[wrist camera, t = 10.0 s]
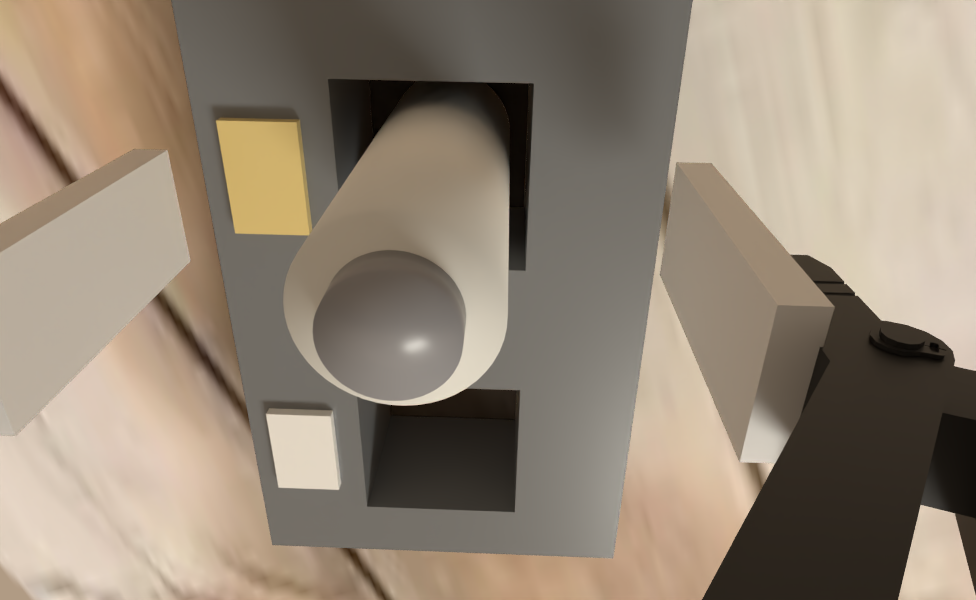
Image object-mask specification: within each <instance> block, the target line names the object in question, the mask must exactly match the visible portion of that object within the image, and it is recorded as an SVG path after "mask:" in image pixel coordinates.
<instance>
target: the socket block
mask: <svg viewBox="0 0 976 600" xmlns="http://www.w3.org/2000/svg"><path fill="white" fill-rule="evenodd" d="M692 1H693V0H171V2H172V7H173V12H174V18H175V23H176V29H177V34H178V39H179V45H180V50H181V55H182V61H183V66H184V72H185V77H186V82H187V88H188V93H189V99H190V104H191V109H192V115H193V120H194V125H195V131H196V136H197V142H198V147H199V152H200V158H201V163H202V169H203V174H204V179H205V185H206V190H207V195H208V201H209V206H210V212H211V217H212V222H213V228H214V233H215V239H216V244H217V249H218V255H219V260H220V265H221V271H222V276H223V282H224V287H225V292H226V298H227V303H228V309H229V314H230V319H231V325H232V330H233V336H234V341H235V346H236V352H237V357H238V362H239V368H240V373H241V379H242V384H243V389H244V395H245V400H246V406H247V411H248V416H249V422H250V427H251V432H252V438H253V443H254V449H255V454H256V459H257V465H258V470H259V476H260V481H261V486H262V492H263V497H264V502H265V508H266V513H267V519H268V524H269V529H270V535H271V540H272V545H286V546H311V547H337V548H363V549H388V550H414V551H439V552H465V553H490V554H516V555H542V556H567V557H593V558H613V557H614V550H615V543H616V536H617V529H618V522H619V515H620V508H621V501H622V493H623V486H624V479H625V472H626V465H627V458H628V451H629V444H630V437H631V430H632V423H633V416H634V409H635V402H636V395H637V388H638V381H639V374H640V367H641V360H642V353H643V346H644V339H645V332H646V325H647V318H648V310H649V303H650V296H651V289H652V282H653V275H654V268H655V261H656V254H657V247H658V240H659V233H660V226H661V219H662V212H663V205H664V198H665V191H666V184H667V177H668V170H669V163H670V156H671V149H672V142H673V135H674V128H675V120H676V113H677V106H678V99H679V92H680V85H681V78H682V71H683V64H684V57H685V50H686V43H687V36H688V29H689V22H690V15H691V8H692ZM369 80H404V81H450V82H495V83H529V95H528V119H527V143H526V167H525V192H524V207H509V261H508V319H507V329H506V334H505V338H504V342H503V344H502V347H501V349H500V352H499V353H498V355H497V357H496V359H495V360H494V362H493V363H492V365H491V366H490V367H489V369H488V370H487V371H486V372H485V373H484V374H483V375H482V376H481V377H480V378H479V379H478V380H477V381H476V382H474V383H473V384H472V385H470V386H469V387H468V388H467V389H497V390H516V409H515V420H507V419H478V418H449V417H420V416H391V410H390V405H388V404H382V403H376V402H373V401H369V400H365V399H362V398H360V397H357V396H354V395H352V394H350V393H348V392H346V391H344V390H342V389H340V388H338V387H337V386H335V385H334V384H332V383H331V382H329V381H327V380H326V379H325V378H324V377H323V376H321V375H320V374H319V373H318V372H317V371H316V370H315V369H314V368H313V367H312V366H311V365H310V364H309V363H308V362H307V361H306V359H305V358H304V357H303V355H302V354H301V353H300V351H299V350H298V348H297V346H296V345H295V343H294V341H293V339H292V337H291V334H290V332H289V329H288V327H287V323H286V319H285V315H284V306H283V293H284V285H285V280H286V276H287V273H288V270H289V268H290V265H291V263H292V261H293V259H294V258H295V256H296V254H297V252H298V251H299V249H300V248H301V246H302V245H303V243H304V242H305V240H306V239H307V237H308V236H309V234H310V233H311V231H312V230H313V228H314V227H315V225H316V224H317V222H318V221H319V220H320V218H321V217H322V215H323V214H324V212H325V211H326V209H327V208H328V206H329V205H330V203H331V202H332V200H333V199H334V197H335V196H336V194H337V193H338V191H339V190H340V188H341V187H342V185H343V184H344V182H345V181H346V179H347V178H348V176H349V175H350V173H351V172H352V170H353V169H354V167H355V166H356V164H357V163H358V161H359V160H360V158H361V157H362V155H363V154H364V153H365V151H366V150H367V148H368V147H369V145H370V144H371V142H372V141H373V130H372V115H371V99H370V84H369Z"/></svg>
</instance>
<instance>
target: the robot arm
mask: <svg viewBox="0 0 976 600" xmlns="http://www.w3.org/2000/svg"><path fill="white" fill-rule="evenodd" d="M190 261H191V260H190V256H189V251H188V246H187V241H186V236H185V232H184V227H183V222H182V217H181V212H180V207H179V203H178V198H177V193H176V188H175V183H174V179H173V174H172V169H171V164H170V159H169V154H168V150H153V149H133V150H131V151H130V152H128V153H126V154H124V155H122V156H121V157H119V158H117V159H115V160H113V161H112V162H110V163H108V164H106V165H105V166H103V167H101V168H99V169H97V170H96V171H94V172H92V173H90V174H88V175H87V176H85V177H83V178H81V179H79V180H78V181H76V182H74V183H72V184H70V185H69V186H67V187H65V188H63V189H62V190H60V191H58V192H56V193H54V194H53V195H51V196H49V197H47V198H45V199H44V200H42V201H40V202H38V203H36V204H35V205H33V206H31V207H29V208H27V209H26V210H24V211H22V212H20V213H19V214H17V215H15V216H13V217H11V218H10V219H8V220H6V221H4V222H2V223H1V224H0V436H16V435H17V434H18V433H19V432H20V431H21V430H22V429H23V428H24V427H25V426H26V425H27V424H28V423H29V422H30V421H31V420H32V419H33V418H34V417H35V416H36V415H37V414H38V413H39V412H40V411H41V410H42V409H43V408H44V407H45V406H46V405H47V404H48V403H49V402H50V401H51V400H52V399H53V398H54V397H55V396H56V395H57V394H58V393H59V392H60V391H61V390H62V389H63V388H64V387H65V386H66V385H67V384H68V383H69V382H70V381H71V380H72V379H73V378H74V377H75V376H76V375H77V374H78V373H79V372H80V371H81V370H82V369H83V368H84V367H85V366H86V365H87V364H88V363H89V362H90V361H91V360H92V359H93V358H94V357H95V356H96V355H97V354H98V353H99V352H100V351H101V350H102V349H103V348H104V347H105V346H106V345H107V344H108V343H109V342H110V341H111V340H112V339H113V338H114V337H115V336H116V335H117V334H118V333H119V332H120V331H121V330H122V329H123V328H124V327H125V326H126V325H127V324H128V323H129V322H130V321H131V320H132V319H133V318H134V317H135V316H136V315H137V314H138V313H139V312H140V311H141V310H142V309H143V308H144V307H145V306H146V305H147V304H148V303H149V302H150V301H151V300H152V299H153V298H154V297H155V296H156V295H157V294H158V293H159V292H160V291H161V290H162V289H163V288H164V287H165V286H166V285H167V284H168V283H169V282H170V281H171V280H172V279H173V278H174V277H175V276H176V275H177V274H178V273H179V272H180V271H181V270H182V269H183V268H184V267H185V266H186V265H187V264H188V263H189V262H190ZM660 276H661V278H662V280H663V283H664V285H665V288H666V290H667V292H668V295H669V297H670V299H671V302H672V304H673V306H674V309H675V311H676V313H677V316H678V318H679V320H680V323H681V325H682V328H683V330H684V332H685V335H686V337H687V339H688V342H689V344H690V346H691V349H692V351H693V353H694V356H695V358H696V361H697V363H698V365H699V368H700V370H701V372H702V375H703V377H704V379H705V382H706V384H707V386H708V389H709V391H710V393H711V396H712V398H713V401H714V403H715V405H716V408H717V410H718V412H719V415H720V417H721V419H722V422H723V424H724V426H725V429H726V431H727V433H728V436H729V438H730V441H731V443H732V445H733V448H734V450H735V452H736V455H737V457H738V459H739V462H752V463H775V465H774V467H773V469H772V470H771V472H770V474H769V476H768V478H767V480H766V482H765V484H764V485H763V487H762V489H761V491H760V493H759V495H758V497H757V498H756V500H755V502H754V504H753V506H752V508H751V510H750V511H749V513H748V515H747V517H746V519H745V521H744V523H743V524H742V526H741V528H740V530H739V532H738V534H737V536H736V537H735V539H734V541H733V543H732V545H731V547H730V549H729V551H728V552H727V554H726V556H725V558H724V560H723V562H722V564H721V565H720V567H719V569H718V571H717V573H716V575H715V577H714V578H713V580H712V582H711V584H710V586H709V588H708V590H707V591H706V593H705V595H704V597H703V599H702V600H898V597H899V593H900V589H901V584H902V580H903V576H904V572H905V568H906V563H907V559H908V555H909V551H910V547H911V542H912V538H913V534H914V530H915V526H916V521H917V517H918V513H919V509H920V505H925V506H928V507H932V508H936V509H940V510H944V511H948V512H952V513H956V514H955V516H956V520H957V523H958V527H959V531H960V535H961V539H962V543H963V547H964V551H965V555H966V559H967V563H968V566H969V570H970V574H971V578H972V582H973V586H974V590H975V594H976V371H973V370H968V369H963V368H959V367H955V366H954V362H955V359H954V355H953V351H952V350H951V349H950V348H949V347H948V346H947V345H946V344H945V343H944V342H943V341H941V340H940V339H938V338H936V337H934V336H932V335H931V334H929V333H927V332H925V331H922V330H919V329H916V328H913V327H911V326H908V325H904V324H899V323H894V322H889V321H881V320H880V319H879V318H878V317H877V316H876V315H875V314H874V313H873V312H872V310H871V309H870V308H869V307H868V306H867V305H866V304H865V303H864V302H863V301H862V300H861V299H860V298H859V297H858V296H855V293H854V292H853V290H852V289H851V288H850V287H849V286H848V285H847V284H844V281H843V280H842V279H841V278H840V277H839V276H838V275H837V274H836V273H835V271H834V270H833V269H832V268H831V267H829V266H827V265H825V264H823V263H821V262H819V261H818V260H816V259H814V258H812V257H810V256H808V255H790V254H789V253H788V252H787V251H786V249H785V248H784V247H783V246H782V245H781V244H780V243H779V241H778V240H777V239H776V238H775V237H774V236H773V234H772V233H771V232H770V231H769V230H768V229H767V227H766V226H765V225H764V224H763V223H762V222H761V220H760V219H759V218H758V217H757V216H756V215H755V213H754V212H753V211H752V210H751V209H750V208H749V206H748V205H747V204H746V203H745V202H744V201H743V199H742V198H741V197H740V196H739V195H738V194H737V192H736V191H735V190H734V189H733V188H732V187H731V185H730V184H729V183H728V182H727V181H726V180H725V178H724V177H723V176H722V175H721V174H720V173H719V171H718V170H717V169H716V168H715V167H714V166H713V165H712V163H679V162H677V163H676V170H675V176H674V183H673V190H672V197H671V204H670V210H669V217H668V224H667V231H666V238H665V244H664V251H663V258H662V265H661V272H660Z"/></svg>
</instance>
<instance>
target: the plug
mask: <svg viewBox="0 0 976 600" xmlns="http://www.w3.org/2000/svg"><path fill="white" fill-rule="evenodd" d="M509 182H510V124H509V119H508V115H507V112H506V109H505V107H504V105H503V103H502V101H501V100H500V98H499V97H498V95H497V94H496V93H495V92H494V91H493V90H492V89H491V88H490V87H489V86H488V85H487V84H486V83H484V82H450V81H417V82H416V83H414V84H413V85H412V86H411V87H410V88H409V89H408V90H407V91H406V92H405V93H404V95H403V96H402V97H401V99H400V100H399V102H398V103H397V105H396V106H395V108H394V109H393V111H392V112H391V114H390V115H389V117H388V118H387V120H386V121H385V123H384V124H383V126H382V127H381V129H380V130H379V132H378V133H377V135H376V136H375V138H374V139H373V141H372V142H371V144H370V145H369V147H368V148H367V150H366V151H365V153H364V154H363V155H362V157H361V158H360V160H359V161H358V163H357V164H356V166H355V167H354V169H353V170H352V172H351V173H350V175H349V176H348V178H347V179H346V181H345V182H344V184H343V185H342V187H341V188H340V190H339V191H338V193H337V194H336V196H335V197H334V199H333V200H332V202H331V203H330V205H329V206H328V208H327V209H326V211H325V212H324V214H323V215H322V217H321V218H320V220H319V221H318V222H317V224H316V225H315V227H314V228H313V230H312V231H311V233H310V234H309V236H308V237H307V239H306V240H305V242H304V243H303V245H302V246H301V248H300V249H299V251H298V252H297V254H296V256H295V258H294V259H293V261H292V263H291V265H290V268H289V270H288V273H287V276H286V280H285V285H284V293H283V306H284V315H285V319H286V323H287V327H288V329H289V332H290V334H291V337H292V339H293V341H294V343H295V345H296V346H297V348H298V350H299V351H300V353H301V354H302V355H303V357H304V358H305V359H306V361H307V362H308V363H309V364H310V365H311V366H312V367H313V368H314V369H315V370H316V371H317V372H318V373H319V374H320V375H321V376H323V377H324V378H325V379H326V380H327V381H329V382H331V383H332V384H334V385H335V386H337V387H338V388H340V389H342V390H344V391H346V392H348V393H350V394H352V395H354V396H357V397H360V398H362V399H365V400H369V401H373V402H376V403H382V404H388V405H401V406H408V405H421V404H427V403H432V402H436V401H439V400H443V399H446V398H448V397H451V396H453V395H455V394H457V393H459V392H461V391H463V390H464V389H466V388H468V387H469V386H470V385H472V384H473V383H474V382H476V381H477V380H478V379H479V378H480V377H481V376H482V375H483V374H484V373H485V372H486V371H487V370H488V369H489V367H490V366H491V365H492V363H493V362H494V360H495V359H496V357H497V355H498V353H499V352H500V349H501V347H502V344H503V342H504V338H505V334H506V329H507V319H508V261H509Z"/></svg>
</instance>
